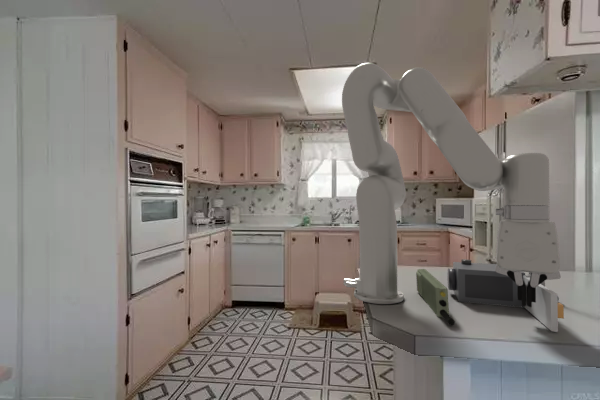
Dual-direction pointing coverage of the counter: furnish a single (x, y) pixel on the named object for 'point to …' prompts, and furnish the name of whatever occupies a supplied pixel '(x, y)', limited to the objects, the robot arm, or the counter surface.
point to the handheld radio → (434, 294)
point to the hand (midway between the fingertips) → (526, 304)
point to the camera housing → (482, 284)
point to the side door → (545, 306)
